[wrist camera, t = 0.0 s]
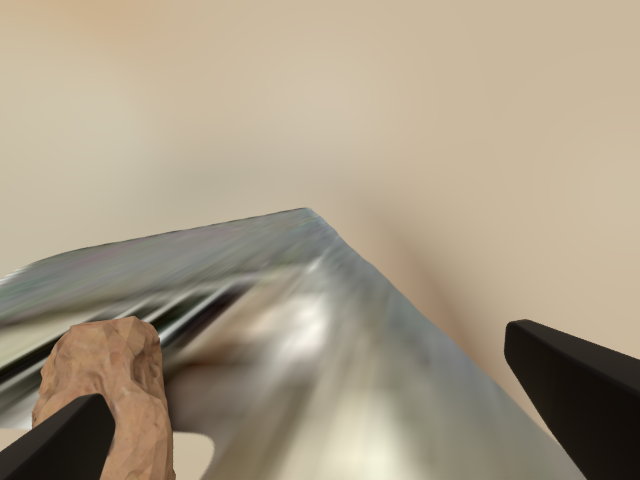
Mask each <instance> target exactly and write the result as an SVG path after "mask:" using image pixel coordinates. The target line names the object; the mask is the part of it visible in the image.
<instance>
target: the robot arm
mask: <svg viewBox="0 0 640 480" xmlns="http://www.w3.org/2000/svg"><path fill="white" fill-rule="evenodd" d="M504 355H505V359H506V361H507V363H508V365H509V366H510V368H511V370H512V371H513V373H514V374H515V376H516V378H517V379H518V381H519V382H520V384H521V385H522V387H523V389H524V390H525V392H526V394H527V395H528V397H529V398H530V400H531V402H532V403H533V405H534V406H535V408H536V410H537V411H538V413H539V414H540V416H541V418H542V419H543V421H544V422H545V424H546V425H547V427H548V428H549V429H550V431H551V432H552V434H553V435H554V436H555V438H556V439H557V441H558V442H559V443H560V445H561V446H562V447H563V449H564V450H565V451H566V453H567V454H568V455H569V457H570V458H571V459H572V460H573V462H574V463H575V464H576V466H577V467H578V468H579V470H580V471H581V472H582V474H583V475H584V476H585V478H586V479H587V480H640V360H639V359H636V358H633V357H631V356H628V355H625V354H622V353H620V352H617V351H614V350H611V349H608V348H606V347H603V346H600V345H597V344H595V343H592V342H589V341H586V340H583V339H581V338H578V337H575V336H572V335H570V334H567V333H564V332H561V331H558V330H555V329H553V328H550V327H547V326H544V325H542V324H539V323H536V322H533V321H531V320H527V319H523V320H517V321H511V322H509V323H508V324H507V326H506V332H505V345H504ZM115 429H116V423H115V419H114V417H113V415H112V413H111V410H110V408H109V406H108V404H107V402H106V400H105V398H104V396H103V395H102V394H100V393H94V394H88V395H82V396H79V397H77V398H75V399H74V400H72V401H71V402H70V403H68V404H67V405H65V406H64V407H63V408H61V409H60V410H58V411H57V412H56V413H54V414H53V415H51V416H50V417H48V418H47V419H46V420H44V421H43V422H41V423H40V424H39V425H37V426H36V427H34V428H33V429H32V430H30V431H29V432H28V433H26V434H25V435H23V436H22V437H20V438H19V439H18V440H17V441H15V442H14V443H12V444H11V445H10V446H8V447H7V448H5V449H4V450H2V451H1V452H0V480H100V478H101V474H102V471H103V468H104V465H105V462H106V459H107V456H108V453H109V450H110V447H111V443H112V440H113V437H114V434H115Z"/></svg>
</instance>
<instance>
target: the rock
mask: <svg viewBox="0 0 640 480" xmlns="http://www.w3.org/2000/svg"><path fill="white" fill-rule="evenodd" d="M41 374H42V377H43V380H42V383H41V386H40V389H39V392H38V393H39V395H40V398H39V399H38V401H37V403H36V405H35V407H34V409H33V411H32V429H33V428H34V427H36V426H37V425H39V424H40V423H41V422H43V421H44V420H46V419H47V418H48V417H50V416H51V415H53V414H54V413H56V412H57V411H58V410H60V409H61V408H63V407H64V406H65V405H67V404H68V403H70V402H71V401H72V400H74V399H75V398H77V397H79V396H82V395H88V394H94V393H100V394H102V395H103V396H104V398H105V400H106V402H107V404H108V406H109V408H110V410H111V413H112V415H113V417H114V419H115V423H116V429H115V434H114V437H113V440H112V443H111V447H110V450H109V453H108V456H107V459H106V462H105V465H104V468H103V471H102V474H101V478H100V480H175V478H176V474H175V472H174V470H173V431H172V428H171V424H170V419H169V416H168V407H167V400H166V397H165V391H164V381H163V375H162V353H161V348H160V338H159V337H158V333H157V331H156V330H155V328H154V327H153V326H152V325H151V324H150V323H147V322H144V321H141V320H139V319H138V318H136V317H135V316H131V317H126V318H120V319H114V320H106V321H98V322H89V323H82V324H78V325H73V326H70V329H69V332H67V333H65V334H64V335H63V336H62V337H61V339H60V340H59V341H58V342H57V343H56V344H55V346H54V348H53V350H52V352H51V354H50V356H49V357H48V359H47V361H46V363H45V365H44V366H43V368H42V370H41Z"/></svg>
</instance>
